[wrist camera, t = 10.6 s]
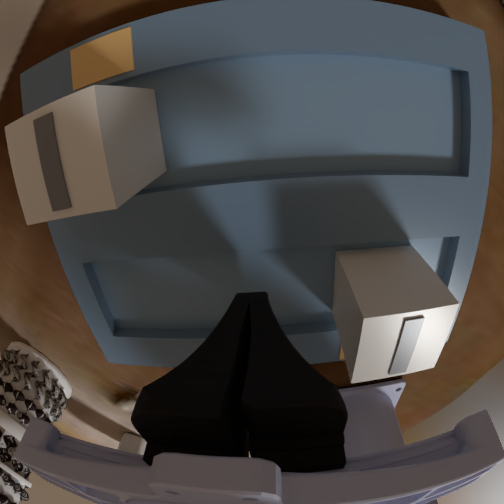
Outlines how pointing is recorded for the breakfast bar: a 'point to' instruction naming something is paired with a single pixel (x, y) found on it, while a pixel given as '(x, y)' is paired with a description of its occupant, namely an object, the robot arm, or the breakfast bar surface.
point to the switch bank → (276, 164)
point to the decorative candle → (25, 410)
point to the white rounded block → (132, 444)
